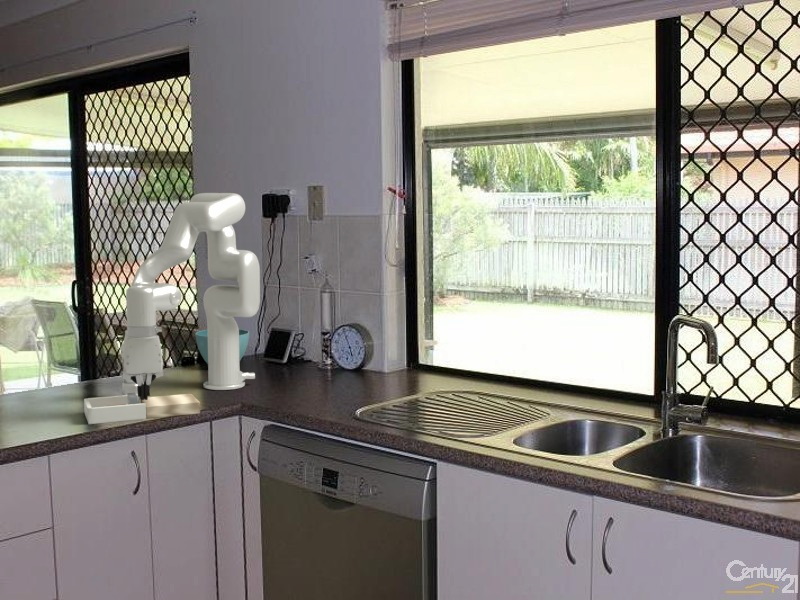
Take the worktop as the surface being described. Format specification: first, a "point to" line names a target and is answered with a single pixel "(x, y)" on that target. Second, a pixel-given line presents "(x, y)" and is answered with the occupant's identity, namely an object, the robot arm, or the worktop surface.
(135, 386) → the plastic bottle
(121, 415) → the box
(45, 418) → the worktop surface
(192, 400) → the plate
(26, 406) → the worktop surface
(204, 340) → the teal bowl
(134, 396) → the slate tile
